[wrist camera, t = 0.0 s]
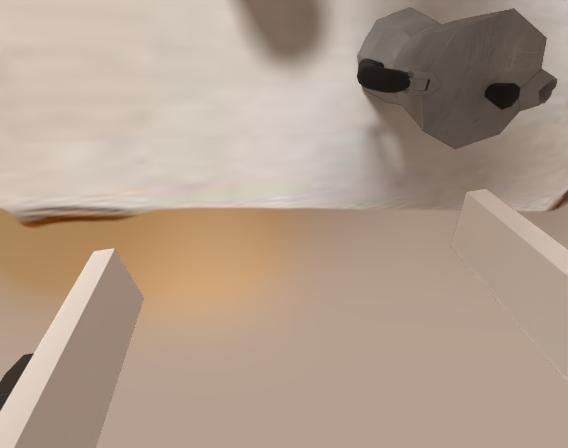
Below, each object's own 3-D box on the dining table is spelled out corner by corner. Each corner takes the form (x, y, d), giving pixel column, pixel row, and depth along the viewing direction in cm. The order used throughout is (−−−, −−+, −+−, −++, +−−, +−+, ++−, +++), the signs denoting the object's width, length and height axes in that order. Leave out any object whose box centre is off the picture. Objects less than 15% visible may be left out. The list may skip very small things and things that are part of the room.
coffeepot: (466, 12, 33) (649, 19, 18) (434, 104, 38) (555, 166, 24) (326, -2, 30) (406, -7, 16) (313, 97, 36) (364, 162, 21)
